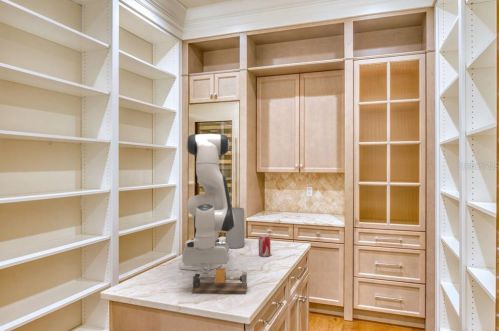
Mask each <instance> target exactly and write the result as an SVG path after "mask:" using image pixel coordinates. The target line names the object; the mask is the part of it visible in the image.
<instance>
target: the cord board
mask: <svg viewBox="0 0 499 331" xmlns="http://www.w3.org/2000/svg"><path fill="white" fill-rule="evenodd" d="M247 274H248V273H247V271H242V272H241V275H240V276H226V277H225V281H239V282H225V283H215V282H209V281H211V280H213V281H215V276H201V274H200V273H195V274H194V275H193V277H192V281H193V282H192V289H191V293H192V294H200V295H201V294H205V295H206V294H208V295H211V294H213V295H216V294H217V295H246V294H247V289H248V281H247V279H248V278H247V277H248V276H247ZM201 280H202V281H203V280H205V281H207V282H205V281H203V282H201ZM208 280H209V281H208Z"/></svg>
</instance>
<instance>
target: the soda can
mask: <svg viewBox="0 0 499 331" xmlns="http://www.w3.org/2000/svg"><path fill="white" fill-rule="evenodd" d="M258 255H259V256H260V257H263V258H267V257H269V256H271V237H270V235H269V234H260V235H259V237H258Z"/></svg>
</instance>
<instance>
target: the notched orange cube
mask: <svg viewBox="0 0 499 331" xmlns="http://www.w3.org/2000/svg"><path fill="white" fill-rule="evenodd" d="M214 275H215V276H214V277H215V280H214V281H215V283H226V280H225V277H227V268H226V267H218V268H215V272H214Z"/></svg>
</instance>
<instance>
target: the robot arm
mask: <svg viewBox="0 0 499 331" xmlns="http://www.w3.org/2000/svg"><path fill="white" fill-rule="evenodd" d="M230 144H231V143H230V140H229V137H228V136H227V135H226V134H222V133H220V134H218V133H200V134H199V133H198V134H190V135H189V136H187V139H186V141H185V147H186V150H187V152H188V153H189V154H190V155H193V156H194V157H195V156H196V161H195V173H196V177H197V183H198V185H199V186H201V187H202V188H203V190H204V193H201V194H196V195H193V196H190V197H189V198H188V199H187V202H186V210H187V211H188V214H190V215H192V217H193V227H194V228H195V233H194V234H195V235H194V237H193V238H190V239H187V240H186V241H185V243H184V248H183V250H182V254H181V255H182V256H181V257H182V258H181V259H182V260H181V262H180V264H179V266H178V269H180V270H188V271H199V272H201V273H202V275H203V274H205V275H209V274H210V271H211V270H214V269H215V270H216V269H217V268H221V267H222V265H226V264H228V263H229V261H230V257H229V251H230V248H229V245H228V244H227V243H226V241H225V242H224V241H221V242H220V239H219V231H222V232H225V231H230V230H231V229H232V228H233V227H234V225H235V217H234V213H233V211H232V208H233V207H232V201H231V195H230V192H229V191H230V190H229V186H228V181H227V178H226V176H225V175H224V174H222V173H221V170H220V158H221V157H222V156H224V155H226V154H227V153H228V152H229V150H230V146H231V145H230ZM219 157H220V158H219ZM226 244H227V245H226Z"/></svg>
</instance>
